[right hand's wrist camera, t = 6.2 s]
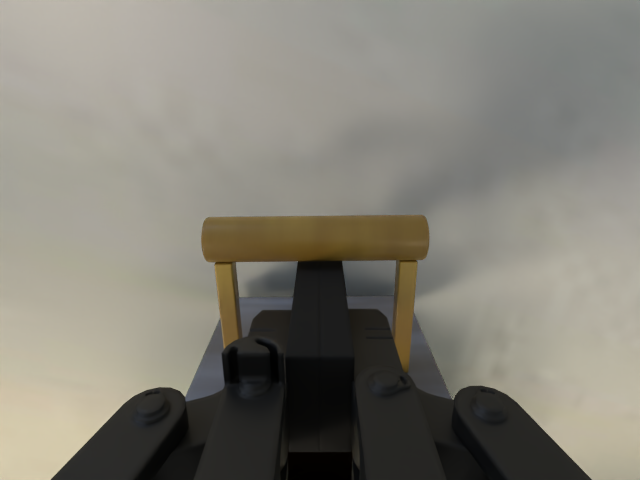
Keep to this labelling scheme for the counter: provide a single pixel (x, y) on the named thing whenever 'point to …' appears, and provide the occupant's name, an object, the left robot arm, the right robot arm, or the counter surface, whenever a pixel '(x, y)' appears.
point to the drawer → (292, 245)
